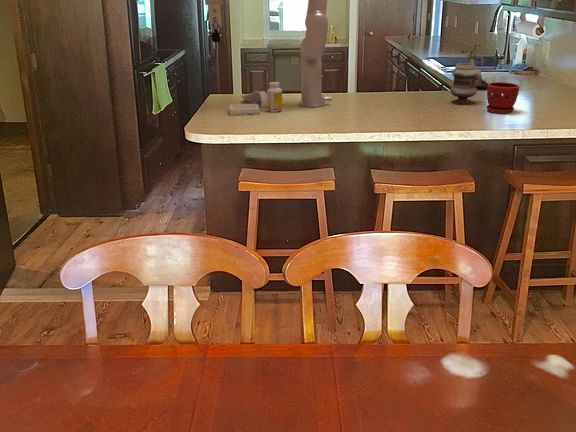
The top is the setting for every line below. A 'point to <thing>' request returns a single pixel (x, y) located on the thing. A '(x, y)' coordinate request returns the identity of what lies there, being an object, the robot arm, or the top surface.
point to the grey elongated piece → (257, 98)
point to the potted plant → (478, 80)
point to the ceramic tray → (244, 109)
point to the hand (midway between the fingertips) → (215, 41)
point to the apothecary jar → (464, 83)
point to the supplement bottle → (274, 97)
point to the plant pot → (501, 97)
